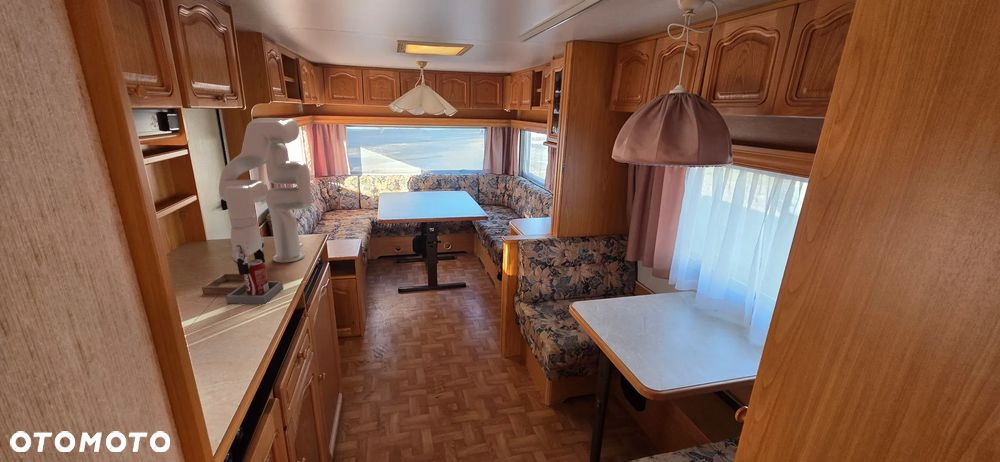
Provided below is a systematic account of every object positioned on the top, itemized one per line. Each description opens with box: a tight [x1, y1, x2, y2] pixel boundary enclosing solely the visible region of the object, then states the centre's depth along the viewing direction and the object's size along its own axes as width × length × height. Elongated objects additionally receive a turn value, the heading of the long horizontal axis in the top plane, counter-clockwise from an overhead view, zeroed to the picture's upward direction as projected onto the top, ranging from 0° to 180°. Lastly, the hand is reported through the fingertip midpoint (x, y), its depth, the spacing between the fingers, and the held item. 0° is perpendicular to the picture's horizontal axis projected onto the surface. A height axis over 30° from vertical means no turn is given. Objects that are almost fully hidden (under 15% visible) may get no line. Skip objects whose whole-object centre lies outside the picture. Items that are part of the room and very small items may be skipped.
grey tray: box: [225, 280, 284, 306], centre depth 143 cm, size 13×13×3 cm
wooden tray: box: [201, 272, 245, 295], centre depth 150 cm, size 13×13×2 cm
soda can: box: [244, 258, 269, 296], centre depth 142 cm, size 7×7×12 cm
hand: (252, 268), depth 141 cm, fingers open, 9 cm apart
